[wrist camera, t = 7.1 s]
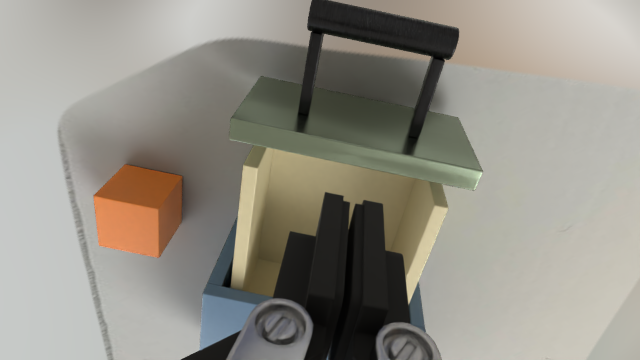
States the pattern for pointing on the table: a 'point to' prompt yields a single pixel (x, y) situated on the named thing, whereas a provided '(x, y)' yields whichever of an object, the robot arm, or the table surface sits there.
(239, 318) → the drawer cabinet
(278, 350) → the robot arm
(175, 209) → the matte orange cube
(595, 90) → the table surface
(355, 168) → the drawer
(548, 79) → the table surface
